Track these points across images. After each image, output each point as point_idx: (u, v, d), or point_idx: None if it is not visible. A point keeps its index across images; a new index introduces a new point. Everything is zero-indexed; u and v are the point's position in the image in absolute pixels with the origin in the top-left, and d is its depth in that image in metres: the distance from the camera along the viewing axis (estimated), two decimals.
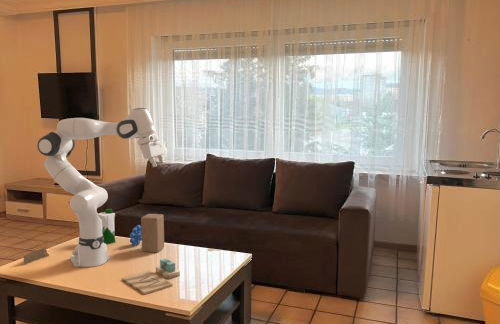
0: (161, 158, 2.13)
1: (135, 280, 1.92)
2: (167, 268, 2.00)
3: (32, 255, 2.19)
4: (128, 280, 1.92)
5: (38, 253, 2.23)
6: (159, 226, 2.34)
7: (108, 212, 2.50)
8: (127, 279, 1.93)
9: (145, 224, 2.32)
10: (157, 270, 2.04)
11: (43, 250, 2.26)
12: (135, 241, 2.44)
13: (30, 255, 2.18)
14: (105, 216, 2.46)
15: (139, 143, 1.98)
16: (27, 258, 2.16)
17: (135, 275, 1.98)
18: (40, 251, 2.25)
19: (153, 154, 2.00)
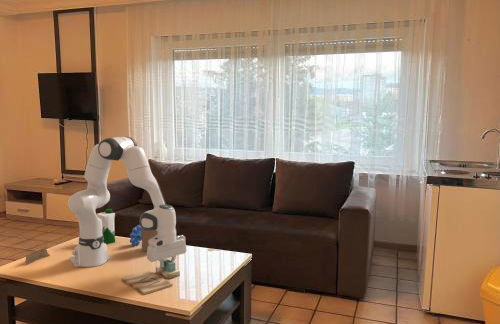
0: (173, 259, 2.04)
1: (135, 280, 1.92)
2: (167, 268, 2.00)
3: (34, 255, 2.19)
4: (128, 280, 1.92)
5: (39, 253, 2.23)
6: None
7: (108, 212, 2.50)
8: (127, 279, 1.93)
9: None
10: (157, 270, 2.04)
11: (44, 250, 2.26)
12: (135, 241, 2.44)
13: (32, 255, 2.18)
14: (105, 216, 2.46)
15: (148, 243, 1.97)
16: (29, 259, 2.16)
17: (135, 275, 1.98)
18: (41, 251, 2.24)
19: (157, 258, 1.96)
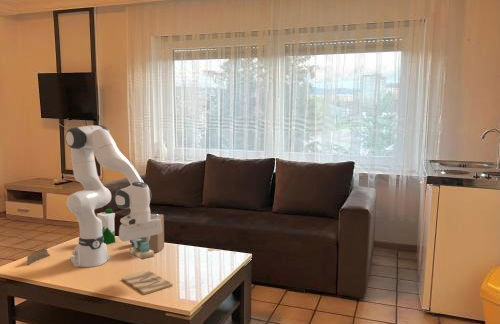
0: (147, 239, 1.94)
1: (135, 280, 1.92)
2: (140, 248, 1.91)
3: (35, 255, 2.19)
4: (128, 280, 1.92)
5: (39, 253, 2.23)
6: None
7: (108, 212, 2.50)
8: (127, 279, 1.93)
9: None
10: (131, 251, 1.95)
11: (44, 249, 2.26)
12: None
13: (33, 255, 2.18)
14: (105, 216, 2.46)
15: (121, 221, 1.87)
16: (30, 258, 2.16)
17: (135, 275, 1.98)
18: (41, 251, 2.24)
19: (130, 238, 1.87)
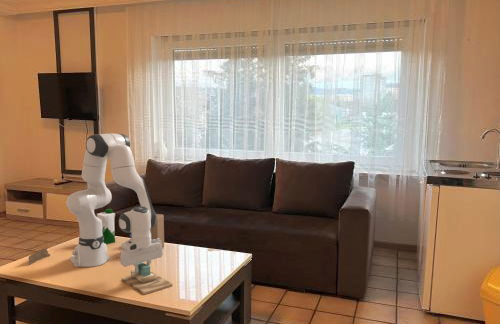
0: (148, 263, 1.96)
1: (135, 280, 1.92)
2: (141, 271, 1.92)
3: (35, 255, 2.19)
4: (128, 280, 1.92)
5: (40, 253, 2.23)
6: (159, 226, 2.34)
7: (108, 212, 2.50)
8: (127, 279, 1.93)
9: None
10: (132, 274, 1.96)
11: (44, 250, 2.26)
12: None
13: (34, 255, 2.18)
14: (105, 216, 2.46)
15: (122, 246, 1.89)
16: (31, 259, 2.16)
17: None
18: (42, 251, 2.24)
19: (131, 263, 1.88)
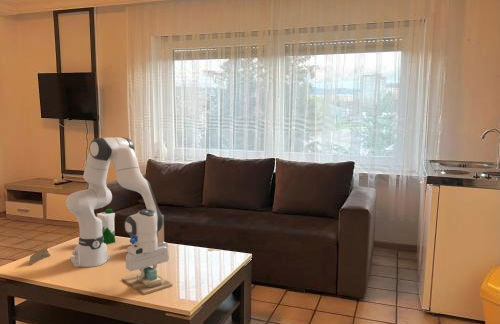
0: (154, 267, 1.91)
1: (135, 280, 1.92)
2: (148, 275, 1.87)
3: (36, 255, 2.19)
4: (128, 280, 1.92)
5: (41, 253, 2.23)
6: None
7: (108, 212, 2.50)
8: (127, 279, 1.93)
9: None
10: (138, 278, 1.91)
11: (45, 249, 2.26)
12: (135, 241, 2.44)
13: (35, 255, 2.18)
14: (105, 216, 2.46)
15: (127, 250, 1.84)
16: (32, 259, 2.16)
17: (135, 275, 1.98)
18: (42, 251, 2.25)
19: (136, 267, 1.84)
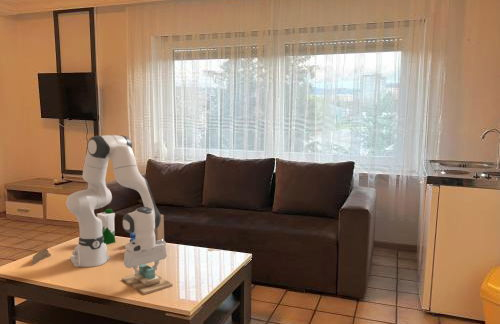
0: (156, 263, 1.94)
1: (135, 280, 1.92)
2: (146, 274, 1.88)
3: (38, 255, 2.19)
4: (128, 280, 1.92)
5: (42, 253, 2.23)
6: (159, 226, 2.34)
7: (108, 212, 2.50)
8: (127, 279, 1.93)
9: None
10: (136, 276, 1.93)
11: (45, 250, 2.26)
12: None
13: (36, 255, 2.18)
14: (105, 216, 2.46)
15: (125, 248, 1.86)
16: (35, 259, 2.16)
17: None
18: (43, 251, 2.25)
19: (134, 264, 1.85)
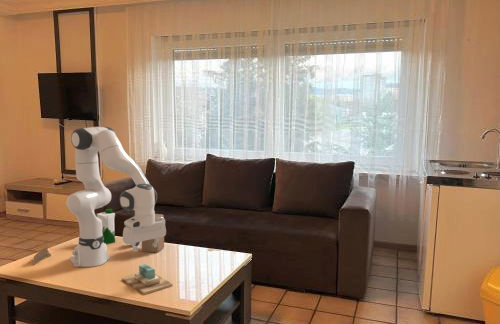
0: (156, 241, 1.93)
1: (135, 280, 1.92)
2: (146, 274, 1.88)
3: (38, 255, 2.19)
4: (128, 280, 1.92)
5: (42, 253, 2.23)
6: None
7: (108, 212, 2.50)
8: (127, 279, 1.93)
9: None
10: (136, 276, 1.93)
11: (45, 249, 2.26)
12: None
13: (37, 255, 2.18)
14: (105, 216, 2.46)
15: (125, 224, 1.85)
16: (35, 259, 2.16)
17: None
18: (43, 251, 2.25)
19: (133, 240, 1.84)
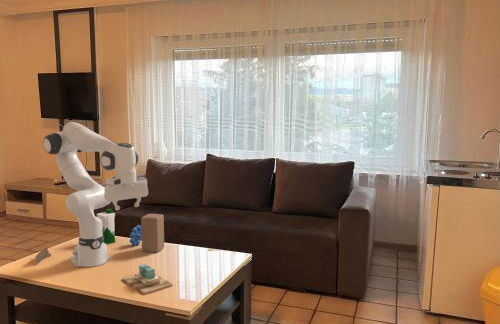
0: (138, 200, 1.95)
1: (135, 280, 1.92)
2: (146, 274, 1.88)
3: (40, 255, 2.19)
4: (128, 280, 1.92)
5: (43, 253, 2.23)
6: (159, 226, 2.34)
7: (108, 212, 2.50)
8: (127, 279, 1.93)
9: (145, 224, 2.32)
10: (136, 276, 1.93)
11: (46, 249, 2.26)
12: (135, 241, 2.44)
13: (38, 255, 2.18)
14: (105, 216, 2.46)
15: (106, 182, 1.86)
16: (37, 258, 2.16)
17: None
18: (44, 251, 2.25)
19: (115, 198, 1.86)
